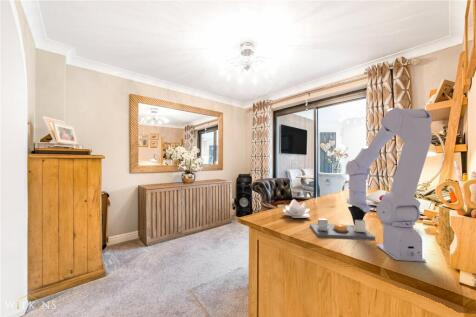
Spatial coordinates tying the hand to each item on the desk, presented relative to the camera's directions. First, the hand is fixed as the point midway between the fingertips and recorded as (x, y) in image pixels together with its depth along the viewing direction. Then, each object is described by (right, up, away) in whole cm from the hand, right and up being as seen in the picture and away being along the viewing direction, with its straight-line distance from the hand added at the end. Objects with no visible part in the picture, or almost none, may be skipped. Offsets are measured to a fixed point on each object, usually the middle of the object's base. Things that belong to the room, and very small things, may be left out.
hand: (357, 225), depth 77 cm
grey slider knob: (-14, -2, -1) cm, 14 cm away
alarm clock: (+24, -3, +14) cm, 28 cm away
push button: (-7, -2, -1) cm, 8 cm away
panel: (-7, -3, 0) cm, 8 cm away
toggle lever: (0, -2, -2) cm, 3 cm away
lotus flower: (-18, -3, +22) cm, 28 cm away
